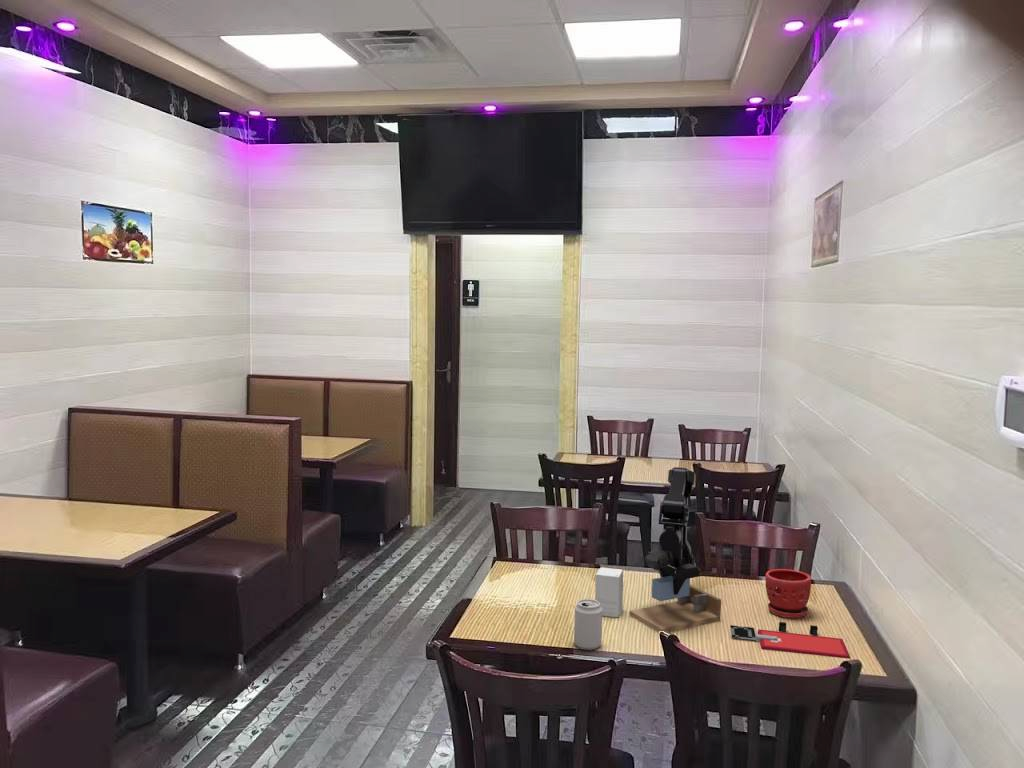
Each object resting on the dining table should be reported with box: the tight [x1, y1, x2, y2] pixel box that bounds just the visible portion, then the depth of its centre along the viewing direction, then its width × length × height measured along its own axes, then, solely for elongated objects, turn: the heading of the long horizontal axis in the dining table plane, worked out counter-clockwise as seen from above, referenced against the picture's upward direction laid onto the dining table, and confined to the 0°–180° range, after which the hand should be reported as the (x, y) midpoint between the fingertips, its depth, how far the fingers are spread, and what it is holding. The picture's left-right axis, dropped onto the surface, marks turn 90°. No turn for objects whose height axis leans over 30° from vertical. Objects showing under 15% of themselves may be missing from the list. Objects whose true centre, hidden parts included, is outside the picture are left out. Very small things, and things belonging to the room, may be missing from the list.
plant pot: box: [765, 568, 812, 619], centre depth 236 cm, size 13×13×12 cm
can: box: [573, 598, 603, 651], centre depth 210 cm, size 8×8×12 cm
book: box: [651, 576, 691, 602], centre depth 231 cm, size 11×4×6 cm, turn 118°
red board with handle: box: [730, 621, 851, 660], centre depth 216 cm, size 30×3×15 cm
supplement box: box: [594, 567, 624, 618], centre depth 234 cm, size 7×7×13 cm
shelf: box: [629, 584, 722, 633], centre depth 231 cm, size 22×15×6 cm
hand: (670, 592), depth 231 cm, fingers closed on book, 4 cm apart
